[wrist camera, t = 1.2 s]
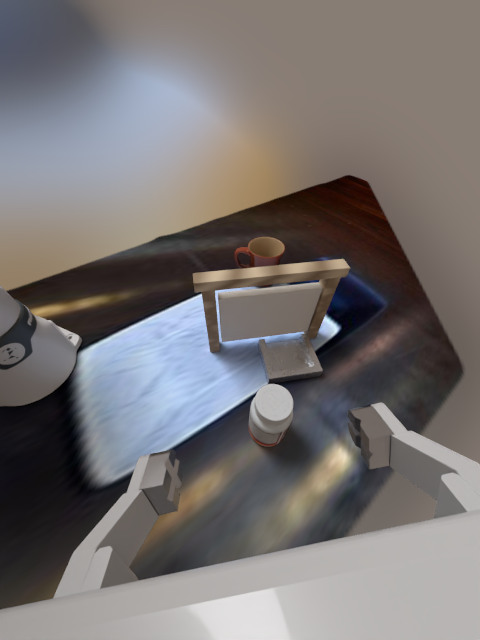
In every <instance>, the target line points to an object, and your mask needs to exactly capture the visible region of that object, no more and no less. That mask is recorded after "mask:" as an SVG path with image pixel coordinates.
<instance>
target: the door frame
mask: <svg viewBox="0 0 480 640" xmlns="http://www.w3.org/2000/svg"><path fill="white" fill-rule="evenodd" d="M349 269H350V267H349V266H348V264H347V263H346V262H345V260H344V259H338V260H327V261H317V262H306V263H296V264H286V265H275V266H265V267H254V268H244V269H233V270H223V271H212V272H202V273H193V281H194V288H195V292H202V297H203V304H204V311H205V318H206V325H207V331H208V338H209V345H210V352H216V351H220V344H219V333H218V322H217V311H216V300H215V290H223V289H233V288H242V287H252V286H261V285H271V284H280V283H290V282H299V281H309V280H319V279H320V282H319V283H320V285H321V287H322V291H321V294H320V297H319V300H318V302H317V305H316V308H315V311H314V314H313V316H312V319H311V322H310V325H309V328H308V330H307V331H303V332H304V334H306V333H307V335H308V337H309V339H313V338H316V336H317V333H318V331H319V328H320V326H321V324H322V321H323V319H324V316H325V314H326V311H327V309H328V307H329V304H330V302H331V299H332V297H333V294H334V292H335V290H336V287H337V285H338V282H339V280H340V278H341V277H346V276H347V274H348V272H349Z"/></svg>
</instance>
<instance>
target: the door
mask: <svg viewBox="0 0 480 640" xmlns="http://www.w3.org/2000/svg"><path fill="white" fill-rule="evenodd" d="M321 291H322V287H321V285H320V283H319V282H317V283H308V284H298V285H289V286H279V287H270V288H261V289H251V290H242V291H232V292H223V293H218V300H219V313H220V325H221V337H222V342H226V341H234V340H242V339H249V338H257V337H265V336H272V335H280V334H288V333H296V332H303V331H307V330H308V328H309V325H310V322H311V319H312V316H313V314H314V311H315V308H316V305H317V302H318V300H319V297H320V294H321Z"/></svg>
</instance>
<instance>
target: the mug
mask: <svg viewBox="0 0 480 640" xmlns="http://www.w3.org/2000/svg"><path fill="white" fill-rule="evenodd" d="M284 251H285V246H284V244H283V243H282V242H281V241H279V240H277V239H275V238H271V237H259V238H256V239H253V240H252V241H250V242H249V244H248V247H241V248H238V249H236V251H235V254H234V259H235V263H236V265H237V266H238V267H239V268H240V269H244V268H254V267H265V266H275V265H279V262H280V259H281V257H282V255H283V253H284ZM239 253H246V254H247V255H249V256H250V264H249V265H243V264H241V263H240V262H239V259H238V254H239ZM271 285H273V284H271ZM271 285H261V286H259V287H269V286H271Z"/></svg>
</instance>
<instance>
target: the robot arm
mask: <svg viewBox="0 0 480 640" xmlns="http://www.w3.org/2000/svg"><path fill="white" fill-rule="evenodd" d="M81 342H82V338H81V337H79V336H78V335H76V334H74V333H72V332H70V331H67V330H65V329H63V328H61V327H59V326H56V325H55V324H54V323H53V322H52V321H51V320H46V319H44V318H41V317H38V316H35V315H33V314H32V313H31V312H30V310H29V309H28V308H27V307H26V306H25V305H23V304H22V303H21V302H20V301H18V300H16V299H13V298H12V297H11V296H10V295H9V294H8V293H7V292H6V291H5V290H4V289H3V288H2V287H1V285H0V406H21V405H26V404H29V403H32V402H35V401H37V400H40V399H42V398H43V397H45V396H47V395H49V394H50V393H52V392H53V391H54V390H56V389H57V388H58V387H59V386H60V385H61V384H62V383H63V382H64V381H65V380H66V379H67V378H68V376H69V375H70V373H71V372H72V370H73V368H74V365H75V362H76V353H77V350H78V348H79V346H80V344H81ZM348 417H349V419H350V422H349V423H348V426H349V431H350V435H351V437H352V439H353V441H354V443H355V445H356V446H357V447H359V448H361V455H362V457H363V459H364V460H365V462H366V464H367V466H368V467H369V469H373V468H379V467H384V466H390V467H391V468H393V469H394V470H395V471H397V472H398V473H400V474H401V475H403V476H404V477H405V478H406V479H408V480H409V481H411V482H412V483H413V484H415V485H416V486H417V487H419V488H420V489H421V490H423V491H424V492H425V493H427V494H428V495H430V496H431V497H432V498H434V499H435V500H436V501H437V504H436V510H435V515H434V518H435V519H431V520H426V521H421V522H416V523H412V524H407V525H402V526H397V527H393V528H388V529H383V530H378V531H373V532H369V533H364V534H359V535H354V536H349V537H345V538H340V539H335V540H330V541H325V542H321V543H316V544H311V545H306V546H301V547H297V548H292V549H287V550H282V551H277V552H273V553H268V554H263V555H258V556H254V557H249V558H244V559H239V560H235V561H230V562H225V563H220V564H215V565H211V566H206V567H201V568H196V569H192V570H187V571H182V572H177V573H173V574H168V575H163V576H158V577H153V578H149V579H144V580H139V581H138V578H137V576H136V575H135V574H134V573H133V572H132V570H131V569H130V568H129V567H130V565H131V563H132V562H133V560H134V558H135V557H136V555H137V553H138V551H139V550H140V548H141V546H142V545H143V543H144V541H145V539H146V538H147V536H148V534H149V533H150V531H151V529H152V528H153V526H154V524H155V522H156V521H157V519H158V517H159V515H163V514H167V513H171V512H175V511H178V505H179V499H180V493H179V491H178V488H179V487H180V485H181V484H182V478H183V475H182V466H181V463H180V461H178V460H176V459H175V458H176V453H175V452H174V450H169V451H164V452H159V453H153V454H149V455H144V456H140V458H139V459H138V461H137V464H136V467H135V470H134V473H133V476H132V479H131V481H130V484H129V487H128V490H127V493H125V494H123V495H122V496H121V497H120V498H119V500H118V501H117V502H116V503H115V504H114V505H113V507H112V508H111V509H110V510H109V511H108V512H107V514H106V515H105V516H104V517H103V518H102V519H101V521H100V522H99V523H98V524H97V525H96V526H95V528H94V529H93V530H92V531H91V532H90V533H89V535H88V536H87V537H86V538H85V539H84V540H83V542H82V543H81V544H80V545H79V546H78V547H77V549H76V550H75V551H74V552H73V554H72V556H71V559H70V561H69V563H68V566H67V568H66V570H65V572H64V575H63V577H62V579H61V581H60V584H59V586H58V588H57V591H56V593H55V595H54V597H53V599H48V600H44V601H39V602H34V603H29V604H24V605H20V606H15V607H10V608H5V609H0V640H480V464H479V463H477V462H474V461H472V460H470V459H468V458H466V457H464V456H462V455H460V454H458V453H456V452H454V451H452V450H450V449H448V448H446V447H444V446H442V445H439V444H437V443H436V442H433V441H431V440H429V439H427V438H425V437H423V436H421V435H419V434H417V433H415V432H413V431H407V430H406V429H405V427H404V426H403V425H402V424H401V423H400V422H399V420H398V419H397V418H396V417H395V416H394V415H393V414H392V412H391V411H390V410H389V409H388V408H387V407H386V405H385V404H383V403H382V402H381V403H377V404H373V405H368V406H363V407H359V408H355V409H351V410H348Z"/></svg>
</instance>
